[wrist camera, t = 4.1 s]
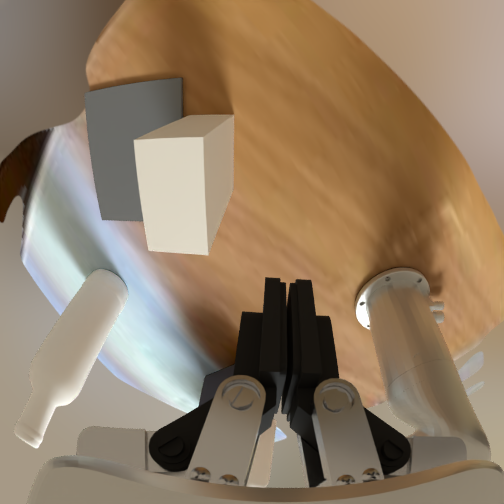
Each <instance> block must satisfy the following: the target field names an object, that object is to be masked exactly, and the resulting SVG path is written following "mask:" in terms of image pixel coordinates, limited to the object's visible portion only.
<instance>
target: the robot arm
mask: <svg viewBox="0 0 504 504" xmlns="http://www.w3.org/2000/svg"><path fill="white" fill-rule="evenodd" d="M429 296H430V287H429V284H428V282H427V280H426V278H425V277H424V275H423V274H422V273H420V272H419V271H417V270H415V269H412V268H404V267H401V268H394V269H390V270H387V271H385V272H382V273H380V274H378V275H377V276H375V277H374V278H372V279H371V280H370V281H369V282H367V283H366V284H365V286H364V287H363V288H362V289H361V291H360V292H359V294H358V296H357V298H356V301H355V313H356V317H357V319H358V321H359V323H360V324H361V325H362V326H364V327H365V328H367V329H370V331H371V334H372V338H373V342H374V346H375V350H376V354H377V358H378V362H379V366H380V371H381V375H382V380H383V384H384V389H385V394H386V398H387V402H388V406H389V408H390V410H391V412H392V413H393V415H394V416H395V417H396V418H398V419H399V420H400V421H402V422H404V423H406V424H407V425H409V426H411V427H413V428H415V429H416V430H415V432H414V433H413V434H411V435H409V436H407V437H405V436H404V435H402V434H401V433H399V432H398V431H397V430H395V429H394V428H392V427H391V426H390V425H388V424H387V423H385V422H384V421H382V420H381V419H380V418H378V417H377V416H376V415H374V414H373V413H371V412H370V411H369V410H367V409H366V408H365V407H363V405H362V402H361V398H360V395H359V393H358V391H357V389H356V388H355V387H354V386H353V385H352V384H351V383H350V382H348V381H346V380H343V379H339V372H338V365H337V358H336V351H335V344H334V338H333V331H332V325H331V320H330V317H329V316H316V312H315V304H314V296H313V288H312V282H311V280H301V279H296V282H295V283H290V287H289V294H288V301H287V306H286V283H284V282H280V278H267V277H266V278H265V291H264V305H263V313H256V312H242V316H241V323H240V330H239V337H238V344H237V351H236V359H235V366H234V373H233V376H231V377H229V378H227V379H225V380H224V381H223V382H222V383H221V384H220V385H219V387H218V389H217V391H216V394H215V396H214V398H212V399H211V400H209V401H207V402H206V403H204V404H202V405H201V406H199V407H197V408H196V409H194V410H192V411H191V412H189V413H187V414H186V415H184V416H182V417H180V418H179V419H177V420H175V421H173V422H172V423H170V424H168V425H167V426H164V427H163V428H161V429H159V430H158V431H146V430H145V429H125V428H110V427H98V426H92V427H88V428H85V429H84V430H83V431H82V432H81V433H80V434H79V437H78V442H77V452H76V455H74V456H61V457H55V458H52V459H50V460H48V461H47V462H46V463H45V464H44V465H43V466H42V468H41V469H40V470H39V472H38V474H37V476H36V478H35V480H34V483H33V485H32V488H31V491H30V494H29V497H28V500H27V504H504V471H503V470H502V468H501V467H500V466H499V465H497V464H496V463H494V462H491V461H490V459H491V451H490V445H489V442H488V440H487V437H486V434H485V432H484V430H483V428H482V426H481V424H480V422H479V420H478V418H477V416H476V414H475V412H474V410H473V407H472V405H471V403H470V401H469V399H468V396H467V394H466V391H465V389H464V386H463V384H462V381H461V379H460V376H459V374H458V371H457V368H456V366H455V364H454V361H453V359H452V356H451V354H450V351H449V349H448V347H447V344H446V342H445V340H444V337H443V335H442V333H441V331H440V328H439V326H438V324H437V323H442V322H443V321H444V313H443V312H442V311H437V312H432V311H433V310H443V309H444V302H433V301H432V300H431V299H430V297H429ZM281 396H282V410H281V412H282V414H287V421H290V428H291V429H292V430H294V431H295V432H296V433H297V439H298V445H299V451H300V456H301V462H302V469H303V474H304V481H305V487H306V488H262V487H246V486H247V483H248V479H249V475H250V472H251V468H252V464H253V460H254V457H255V453H256V449H257V445H258V441H259V437H260V435H261V434H262V433H264V432H265V431H266V430H267V429H269V428H270V427H271V426H272V421H273V417H274V414H277V412H278V408H279V404H280V400H281Z"/></svg>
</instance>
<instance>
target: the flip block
mask: <svg viewBox="0 0 504 504" xmlns="http://www.w3.org/2000/svg"><path fill="white" fill-rule="evenodd" d="M134 150H135V160H136V169H137V178H138V186H139V193H140V201H141V208H142V214H143V221H144V227H145V233H146V238H147V244H148V249H149V251H158V252H172V253H185V254H199V255H209V252H210V249H211V247H212V244H213V241H214V239H215V236H216V233H217V231H218V228H219V226H220V223H221V220H222V218H223V215H224V213H225V210H226V208H227V205H228V202H229V200H230V197H231V195H232V192H233V190H234V115H189V116H187V117H184V118H182V119H179V120H177V121H174V122H172V123H170V124H167V125H165V126H163V127H161V128H158V129H156V130H154V131H152V132H150V133H147V134H145V135H143V136H141V137H139V138H137V139H135V140H134Z"/></svg>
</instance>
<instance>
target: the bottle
mask: <svg viewBox="0 0 504 504" xmlns="http://www.w3.org/2000/svg"><path fill="white" fill-rule="evenodd" d="M128 296H129V294H128V289H127V287H126V285H125V283H124V282H123V281H122V280H121V279H120V277H119V276H117V275H116V274H114V273H113V272H111V271H108V270H105V269H97V270H95V271H93V272H92V273H91V275H89V276H88V278H87V279H86V280H85V282H84V283H83V284H82V287H81V288H80V289H79V291H78V292H77V293H76V295H75V296H74V298H73V299H72V300H71V302H70V303H69V305H68V306H67V307H66V309H65V310H64V312H63V313H62V315H61V316H60V318H59V319H58V321H57V322H56V324H55V325H54V327H53V328H52V330H51V331H50V333H49V334H48V336H47V337H46V339H45V341H44V342H43V344H42V346H41V347H40V348H39V350H38V352H37V353H36V355H35V357H34V358H33V360H32V362H31V366H30V371H29V379H30V383H31V386H32V389H33V392H32V394H31V396H30V398H29V400H28V402H27V404H26V406H25V408H24V410H23V412H22V414H21V416H20V419H19V421H17V422H16V424H15V425H16V427H15V429H14V434H15V435H16V436H17V437H19V438H20V439H22V440H23V441H24V442H26V443H27V444H29V445H31V446H32V447H34V448H39V445H40V443H41V442H42V441H43V435H44V433H45V430H46V428H47V426H48V423H49V421H50V418H51V417H52V414H53V412H54V410H55V408H56V407H57V406H63V405H67V404H69V403H70V402H72V401H73V400H74V399H75V398H76V397H77V396H78V395H79V393H80V391H81V389H82V387H83V385H84V383H85V380H86V378H87V376H88V374H89V372H90V370H91V368H92V366H93V364H94V362H95V360H96V358H97V356H98V354H99V352H100V350H101V348H102V346H103V344H104V342H105V340H106V338H107V336H108V335H109V333H110V331H111V329H112V327H113V325H114V323H115V321H116V320H117V318H118V316H119V314H120V313H121V312H122V310H123V308H124V306H125V303H126V302H127V299H128Z"/></svg>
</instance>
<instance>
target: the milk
mask: <svg viewBox="0 0 504 504" xmlns="http://www.w3.org/2000/svg"><path fill="white" fill-rule="evenodd" d="M275 430H276V420H275V419H273V421H272V426H271V427H270V428H269V429H267V430H266V431H265V432H264V433H262V434H261V435H260V437H259V441H258V445H257V449H256V453H255V457H254V460H253V464H252V468H251V472H250V475H249V479H248V483H247V486H246V487H262V488H265V487H266V486H267V485H268V483H269V478H270V472H271V464H272V456H273V448H274V439H275Z"/></svg>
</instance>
